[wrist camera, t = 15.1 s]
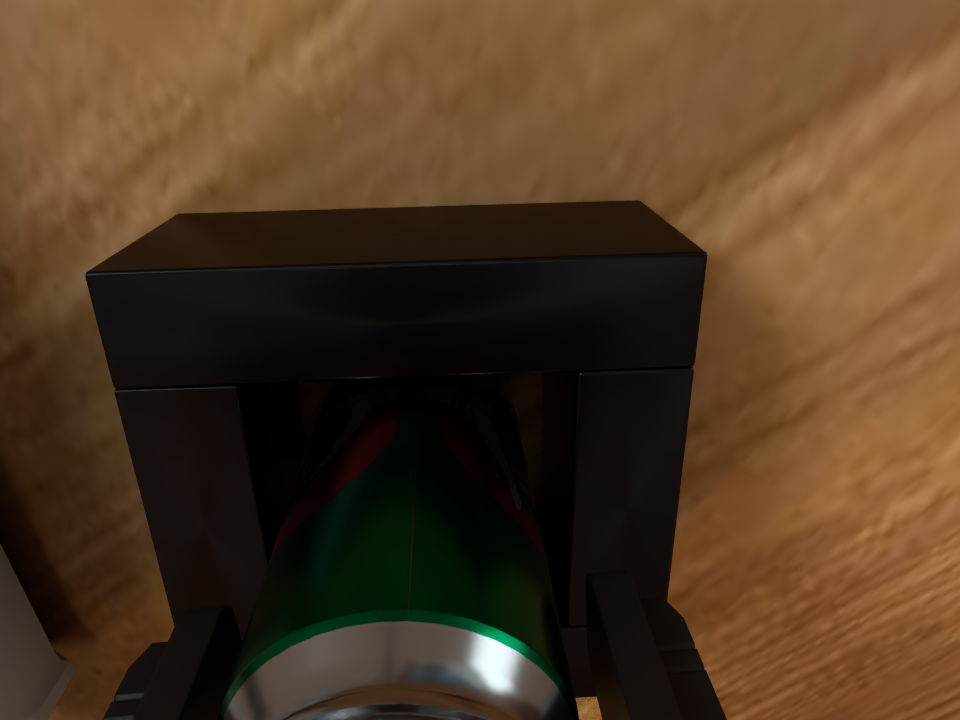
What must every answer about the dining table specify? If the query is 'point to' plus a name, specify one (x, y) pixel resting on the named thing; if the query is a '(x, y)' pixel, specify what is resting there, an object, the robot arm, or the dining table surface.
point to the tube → (26, 656)
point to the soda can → (407, 568)
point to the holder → (404, 370)
